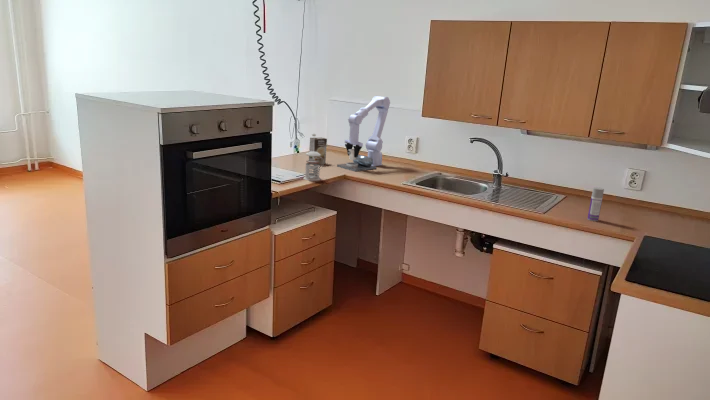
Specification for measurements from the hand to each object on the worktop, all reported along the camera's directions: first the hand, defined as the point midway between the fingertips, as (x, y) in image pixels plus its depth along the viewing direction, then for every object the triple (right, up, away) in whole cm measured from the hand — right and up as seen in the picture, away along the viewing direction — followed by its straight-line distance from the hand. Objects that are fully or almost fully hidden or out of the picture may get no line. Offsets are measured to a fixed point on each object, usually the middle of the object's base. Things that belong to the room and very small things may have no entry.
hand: (352, 156), depth 324 cm
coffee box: (-23, -4, +9) cm, 25 cm away
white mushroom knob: (0, -2, 0) cm, 2 cm away
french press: (-22, -15, -34) cm, 43 cm away
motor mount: (+2, -7, +3) cm, 8 cm away
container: (+112, -37, -81) cm, 143 cm away
